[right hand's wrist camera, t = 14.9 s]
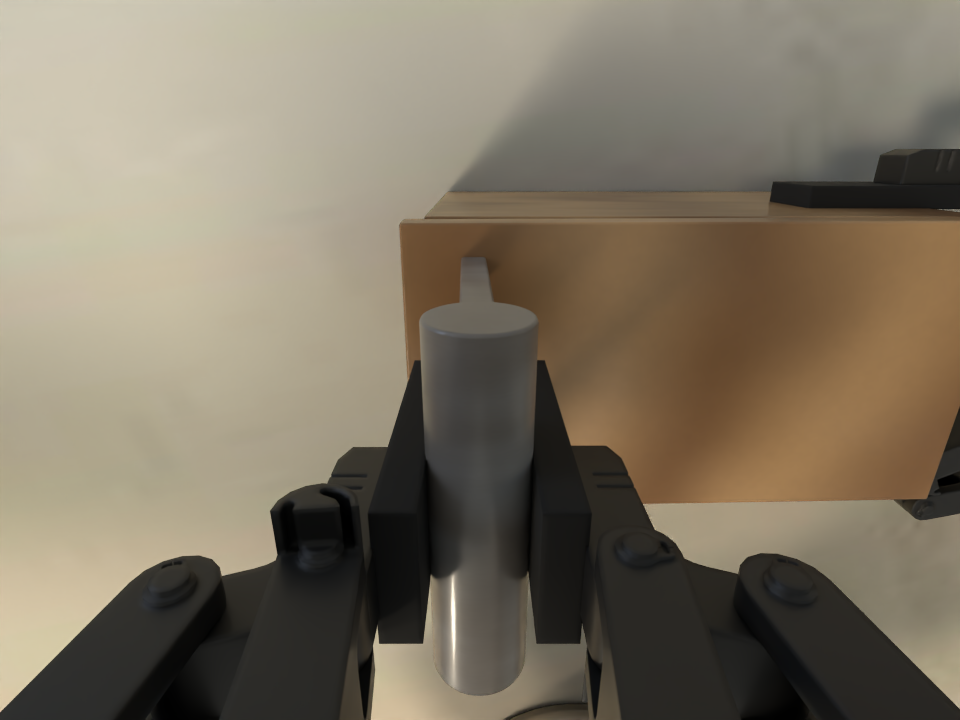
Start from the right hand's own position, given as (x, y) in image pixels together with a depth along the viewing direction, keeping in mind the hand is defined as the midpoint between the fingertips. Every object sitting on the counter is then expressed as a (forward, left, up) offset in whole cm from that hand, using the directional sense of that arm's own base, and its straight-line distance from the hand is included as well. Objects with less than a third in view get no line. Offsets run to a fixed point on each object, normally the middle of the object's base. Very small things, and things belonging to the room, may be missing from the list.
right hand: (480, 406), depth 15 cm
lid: (+4, -5, -3) cm, 7 cm away
